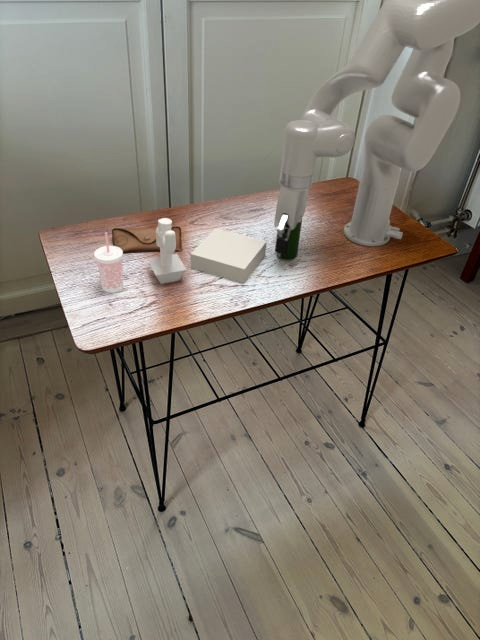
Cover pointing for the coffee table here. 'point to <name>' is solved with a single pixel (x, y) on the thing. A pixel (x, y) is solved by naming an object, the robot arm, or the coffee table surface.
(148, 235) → the sunglasses case
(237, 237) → the riser block
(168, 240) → the figurine
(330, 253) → the coffee table surface
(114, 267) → the beverage cup
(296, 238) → the beer can
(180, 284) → the coffee table surface
